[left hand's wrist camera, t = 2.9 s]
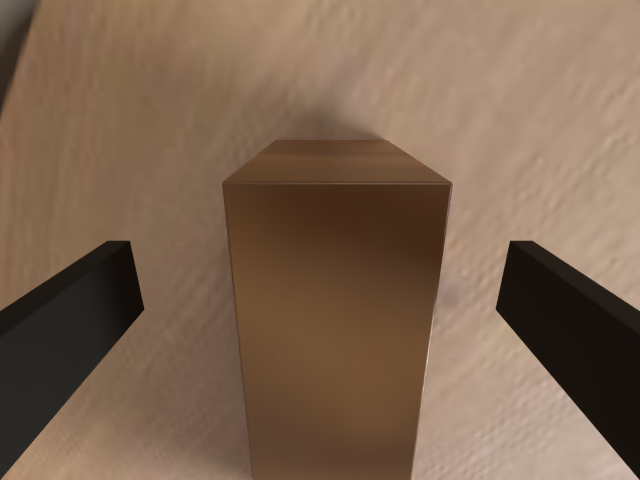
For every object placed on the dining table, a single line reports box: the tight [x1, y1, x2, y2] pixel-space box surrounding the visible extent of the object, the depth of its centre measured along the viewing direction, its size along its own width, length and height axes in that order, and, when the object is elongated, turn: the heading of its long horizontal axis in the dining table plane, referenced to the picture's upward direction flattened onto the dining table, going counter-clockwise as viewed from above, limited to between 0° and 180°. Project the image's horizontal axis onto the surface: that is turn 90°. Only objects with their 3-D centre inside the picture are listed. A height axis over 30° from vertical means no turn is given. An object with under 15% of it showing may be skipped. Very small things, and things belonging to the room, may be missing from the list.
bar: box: [222, 140, 452, 480], centre depth 16 cm, size 24×5×9 cm, turn 0°
